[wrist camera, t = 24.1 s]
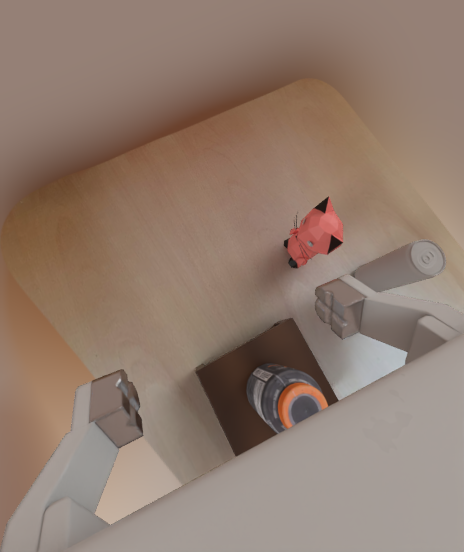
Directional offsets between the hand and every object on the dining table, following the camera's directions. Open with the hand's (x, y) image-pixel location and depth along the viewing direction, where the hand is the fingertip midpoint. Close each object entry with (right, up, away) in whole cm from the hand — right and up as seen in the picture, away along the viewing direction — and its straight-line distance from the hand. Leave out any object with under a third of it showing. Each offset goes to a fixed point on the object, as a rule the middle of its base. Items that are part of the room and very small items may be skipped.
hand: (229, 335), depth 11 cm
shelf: (+4, -13, +27) cm, 30 cm away
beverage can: (+22, +2, +33) cm, 39 cm away
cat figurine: (+11, +6, +32) cm, 35 cm away
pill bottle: (+5, -11, +22) cm, 25 cm away
